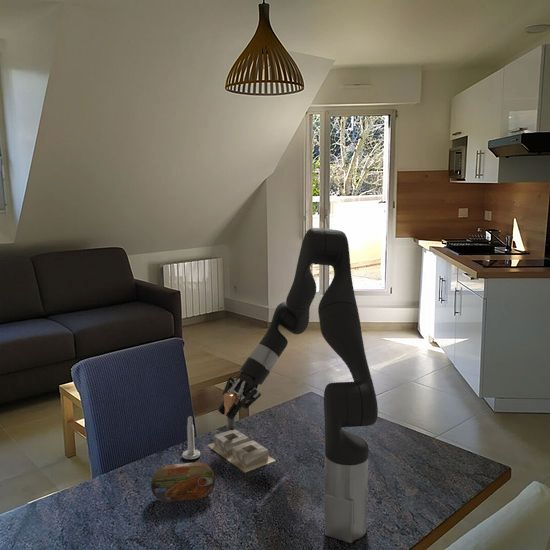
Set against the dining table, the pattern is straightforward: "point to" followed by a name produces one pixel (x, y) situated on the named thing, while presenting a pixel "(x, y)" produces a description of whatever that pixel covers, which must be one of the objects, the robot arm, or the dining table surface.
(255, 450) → the white peg insertion board
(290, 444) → the dining table surface
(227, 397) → the copper-coloured round peg
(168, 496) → the tin
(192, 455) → the screw
